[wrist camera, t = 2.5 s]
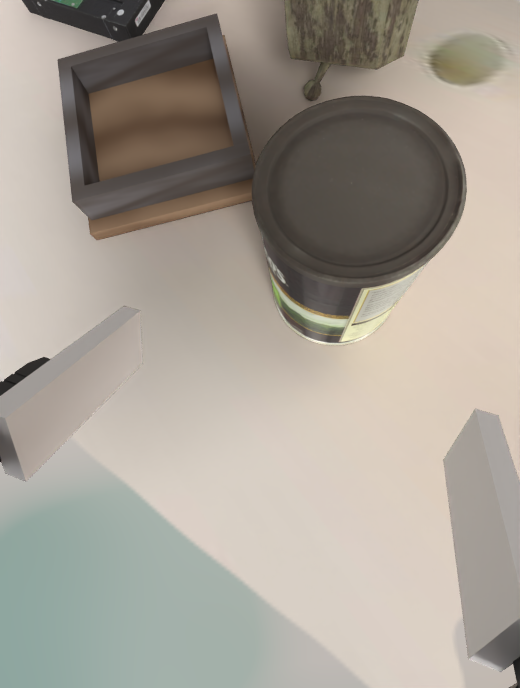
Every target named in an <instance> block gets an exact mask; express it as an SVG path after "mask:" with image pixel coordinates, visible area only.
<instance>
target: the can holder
mask: <svg viewBox="0 0 520 688" xmlns="http://www.w3.org/2000/svg"><path fill="white" fill-rule="evenodd" d="M58 68H59V77H60V87H61V97H62V106H63V116H64V125H65V135H66V145H67V154H68V164H69V173H70V183H71V193H72V202H73V203H74V204H75V205H76V206H78V207H79V208H80V209H81V210H82V211H83V212H84V213H85V214H86V215H87V216H88V220H89V229H90V234H91V235H92V236H93V237H94V238H95V239H96V240H100V239H104V238H108V237H112V236H115V235H119V234H123V233H127V232H131V231H135V230H139V229H143V228H147V227H150V226H154V225H158V224H162V223H166V222H170V221H174V220H178V219H182V218H185V217H189V216H193V215H197V214H201V213H205V212H209V211H213V210H216V209H220V208H224V207H228V206H232V205H236V204H240V203H244V202H248V201H251V200H252V182H253V174H254V170H255V167H256V164H255V160H254V156H253V151H252V147H251V143H250V139H249V135H248V131H247V127H246V123H245V119H244V114H243V110H242V106H241V102H240V98H239V94H238V90H237V86H236V82H235V78H234V73H233V69H232V65H231V61H230V57H229V53H228V49H227V45H226V41H225V36H224V35H222V33H221V29H220V24H219V20H218V16H217V14H213V15H210V16H206V17H203V18H200V19H196V20H193V21H189V22H186V23H182V24H179V25H175V26H172V27H169V28H165V29H162V30H158V31H155V32H151V33H148V34H144V35H141V36H137V37H134V38H131V39H127V40H124V41H120V42H117V43H113V44H110V45H106V46H103V47H99V48H96V49H93V50H89V51H86V52H82V53H79V54H75V55H72V56H68V57H65V58H61V59H58Z"/></svg>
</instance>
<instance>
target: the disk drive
mask: <svg viewBox="0 0 520 688" xmlns="http://www.w3.org/2000/svg"><path fill="white" fill-rule="evenodd" d="M22 1H23V2H24V4H25V5H26V7H27V8H28V10H29V11H30V12H31V13H34V14H37V15H40V16H42V17H45V18H48V19H53V20H56V21H59V22H62V23H65V24H68V25H71V26H74V27H77V28H80V29H83V30H86V31H89V32H92V33H95V34H98V35H102V36H105V37H107V38H111V39H113V40H115V41H118V42H120V41H124V40H127V39H131V38H134V37H137V36H141V35H142V34H143V33H144V31H145V30H146V28H147V27H148V25H149V24H150V22H151V21H152V19H153V17H154V16H155V14H156V13H157V11H158V10H159V8H160V7H161V5H162V4H163V2H164V1H165V0H22Z"/></svg>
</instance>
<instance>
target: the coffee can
mask: <svg viewBox="0 0 520 688" xmlns="http://www.w3.org/2000/svg"><path fill="white" fill-rule="evenodd" d="M466 192H467V187H466V174H465V168H464V165H463V162H462V159H461V156H460V154H459V152H458V150H457V148H456V146H455V144H454V143H453V141H452V140H451V139H450V137H449V136H448V135H447V133H446V132H445V131H444V130H443V129H442V128H441V127H440V126H439V125H438V124H437V123H436V122H434V121H433V120H432V119H431V118H429V117H428V116H427V115H425V114H423V113H422V112H420V111H419V110H417V109H415V108H412V107H410V106H408V105H405V104H403V103H400V102H397V101H394V100H391V99H387V98H381V97H373V96H350V97H343V98H338V99H333V100H329V101H325V102H322V103H319V104H317V105H314V106H312V107H309V108H307V109H305V110H304V111H302V112H300V113H298V114H297V115H295V116H294V117H293V118H291V119H289V120H288V121H287V122H286V123H285V124H284V125H283V126H282V127H280V128H279V130H278V131H277V132H276V133H275V134H274V135H273V136H272V138H271V139H270V140H269V142H268V143H267V144H266V146H265V147H264V149H263V151H262V152H261V154H260V156H259V158H258V161H257V164H256V167H255V170H254V174H253V182H252V204H253V209H254V214H255V218H256V221H257V224H258V226H259V229H260V231H261V234H262V239H263V244H264V249H265V253H266V258H267V263H268V267H269V272H270V276H271V281H272V286H273V295H274V300H275V304H276V307H277V309H278V311H279V313H280V315H281V317H282V318H283V320H284V321H285V322H286V324H287V325H288V326H289V327H290V328H291V329H292V330H293V331H294V332H296V333H297V334H298V335H300V336H302V337H303V338H305V339H307V340H310V341H312V342H315V343H319V344H324V345H346V344H350V343H354V342H357V341H359V340H362V339H364V338H366V337H367V336H369V335H370V334H372V333H373V332H375V331H376V330H377V329H378V328H379V327H380V326H381V325H382V324H383V323H384V322H385V320H386V319H387V317H388V316H389V314H390V312H391V310H392V309H393V308H394V307H395V305H396V304H397V303H398V301H399V300H400V299H401V297H402V296H403V295H404V293H405V292H406V291H407V289H408V288H409V287H410V285H411V284H412V283H413V281H414V280H415V279H416V277H417V276H418V275H419V274H420V272H421V271H422V270H423V268H424V267H425V266H426V264H427V263H428V262H429V260H431V259H432V258H433V257H434V256H435V255H436V254H437V253H438V252H439V251H440V250H441V249H442V248H443V246H444V245H445V244H446V243H447V241H448V240H449V239H450V237H451V236H452V234H453V233H454V231H455V229H456V227H457V225H458V223H459V221H460V219H461V216H462V213H463V210H464V206H465V201H466Z"/></svg>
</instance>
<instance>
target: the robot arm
mask: <svg viewBox="0 0 520 688" xmlns="http://www.w3.org/2000/svg"><path fill="white" fill-rule="evenodd" d="M142 364H143V355H142V332H141V311H140V310H136V309H133V308H130V307H126V306H123V307H122V308H120V309H119V310H118V311H116V312H115V313H114V314H112V315H111V316H109V317H108V318H107V319H105V320H104V321H103V322H101V323H100V324H98V325H97V326H96V327H94V328H93V329H92V330H90V331H89V332H88V333H86V334H85V335H83V336H82V337H81V338H79V339H78V340H77V341H75V342H74V343H72V344H71V345H70V346H68V347H67V348H66V349H64V350H63V351H61V352H60V353H59V354H57V355H56V356H55V357H53V358H52V359H48V358H45V357H43V358H40V359H37V360H35V361H32V362H30V363H27V364H26V365H25V366H23V367H22V368H20V369H19V370H17V371H16V372H15V374H12V375H10V376H9V377H7V378H6V379H4V382H2V381H1V382H0V462H1V463H2V466H3V468H4V471H5V473H6V474H8V475H11V476H13V477H15V478H18V479H20V480H23V481H27V480H28V479H29V478H30V477H31V476H32V475H33V474H34V473H35V472H36V471H37V470H38V469H39V468H40V467H41V466H42V465H43V464H44V463H45V462H46V461H47V460H48V459H49V458H50V457H51V456H52V455H53V454H54V453H55V452H56V451H57V450H58V449H59V448H60V447H61V446H62V445H63V444H64V443H65V442H66V441H67V440H68V439H69V438H70V437H71V436H72V435H73V434H74V433H75V432H76V431H77V430H78V429H79V428H80V427H81V426H82V425H83V424H84V423H85V422H86V421H87V420H88V419H89V418H90V417H91V416H92V415H93V414H94V413H95V412H96V411H97V410H98V409H99V408H100V407H101V406H102V405H103V404H104V403H105V402H106V401H107V400H108V399H109V398H110V397H111V396H112V395H113V394H114V393H115V392H116V391H117V390H118V389H119V388H120V386H121V385H122V384H123V383H124V382H125V381H126V380H127V379H128V378H129V377H130V376H131V375H132V374H133V373H134V372H135V371H136V370H137V369H138V368H139V367H140V366H141V365H142ZM443 461H444V469H445V477H446V485H447V493H448V501H449V509H450V517H451V525H452V533H453V541H454V549H455V557H456V565H457V573H458V581H459V589H460V597H461V605H462V613H463V621H464V629H465V637H466V645H467V653H468V659H469V660H471V661H474V662H477V663H479V664H481V665H484V666H486V667H489V668H492V669H494V670H497V671H499V672H502V671H503V670H504V669H506V668H507V667H509V666H510V665H512V664H513V665H514V670H515V675H516V680H517V683H516V684H514V685H513V686H511V687H509V688H520V482H519V479H518V476H517V472H516V469H515V466H514V463H513V460H512V457H511V454H510V451H509V447H508V444H507V441H506V438H505V435H504V432H503V429H502V426H501V422H500V419H499V416H498V415H495V414H492V413H488V412H485V411H481V410H478V409H475V410H474V411H473V413H472V415H471V416H470V418H469V419H468V421H467V423H466V424H465V426H464V427H463V429H462V431H461V432H460V434H459V435H458V437H457V439H456V440H455V442H454V443H453V445H452V447H451V448H450V450H449V451H448V453H447V455H446V456H445V458H444V459H443Z"/></svg>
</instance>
